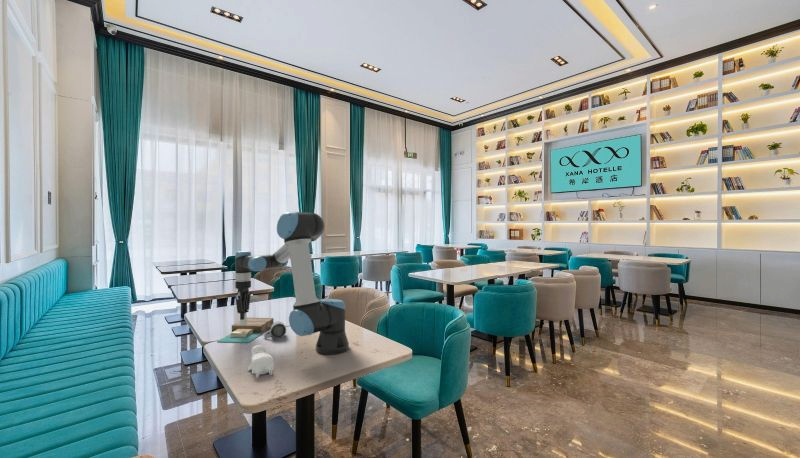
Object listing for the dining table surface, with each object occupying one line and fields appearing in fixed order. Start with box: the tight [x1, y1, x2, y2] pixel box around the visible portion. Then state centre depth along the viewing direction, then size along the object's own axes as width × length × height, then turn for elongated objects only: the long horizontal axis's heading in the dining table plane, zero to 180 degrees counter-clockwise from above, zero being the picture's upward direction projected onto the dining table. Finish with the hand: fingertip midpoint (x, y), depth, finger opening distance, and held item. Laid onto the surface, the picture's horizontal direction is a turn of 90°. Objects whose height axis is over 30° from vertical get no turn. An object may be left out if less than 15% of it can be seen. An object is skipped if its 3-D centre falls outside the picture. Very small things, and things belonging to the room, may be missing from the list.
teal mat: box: [216, 332, 263, 344], centre depth 179 cm, size 15×16×1 cm
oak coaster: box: [230, 329, 253, 337], centre depth 182 cm, size 8×8×2 cm
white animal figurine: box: [247, 344, 275, 379], centre depth 139 cm, size 9×8×15 cm
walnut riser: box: [231, 317, 275, 334], centre depth 194 cm, size 16×16×4 cm
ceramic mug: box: [263, 321, 287, 340], centre depth 181 cm, size 11×8×8 cm
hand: (243, 325), depth 183 cm, fingers closed
